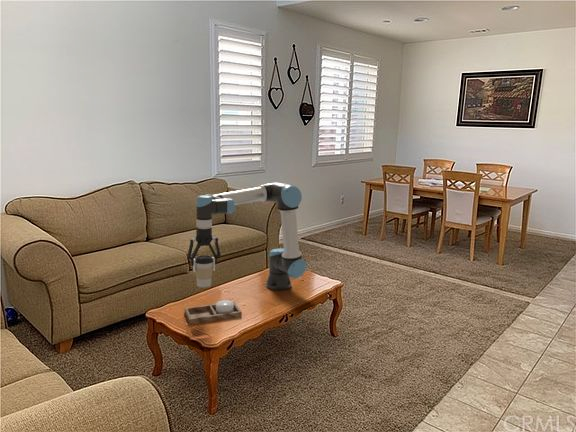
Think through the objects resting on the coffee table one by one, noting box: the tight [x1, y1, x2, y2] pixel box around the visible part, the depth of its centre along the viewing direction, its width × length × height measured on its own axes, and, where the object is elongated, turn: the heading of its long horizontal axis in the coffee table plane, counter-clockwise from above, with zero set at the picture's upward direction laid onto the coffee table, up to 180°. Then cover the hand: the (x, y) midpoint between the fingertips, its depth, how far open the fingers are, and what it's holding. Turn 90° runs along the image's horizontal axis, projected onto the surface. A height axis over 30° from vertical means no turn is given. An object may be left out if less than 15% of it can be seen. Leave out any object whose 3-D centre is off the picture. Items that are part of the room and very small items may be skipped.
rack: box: [184, 301, 243, 325], centre depth 224 cm, size 26×14×4 cm, turn 112°
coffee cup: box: [195, 254, 213, 288], centre depth 221 cm, size 9×9×15 cm
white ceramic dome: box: [215, 299, 234, 314], centre depth 226 cm, size 9×9×5 cm
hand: (203, 270), depth 221 cm, fingers closed on coffee cup, 9 cm apart
